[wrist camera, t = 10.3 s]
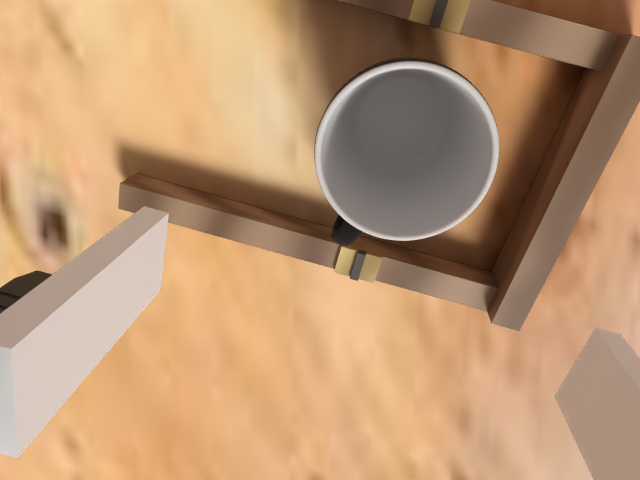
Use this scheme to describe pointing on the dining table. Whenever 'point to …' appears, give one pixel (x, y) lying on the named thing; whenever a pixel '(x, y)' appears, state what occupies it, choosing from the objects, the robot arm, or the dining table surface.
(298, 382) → the dining table surface
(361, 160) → the mug
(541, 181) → the frame
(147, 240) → the robot arm
